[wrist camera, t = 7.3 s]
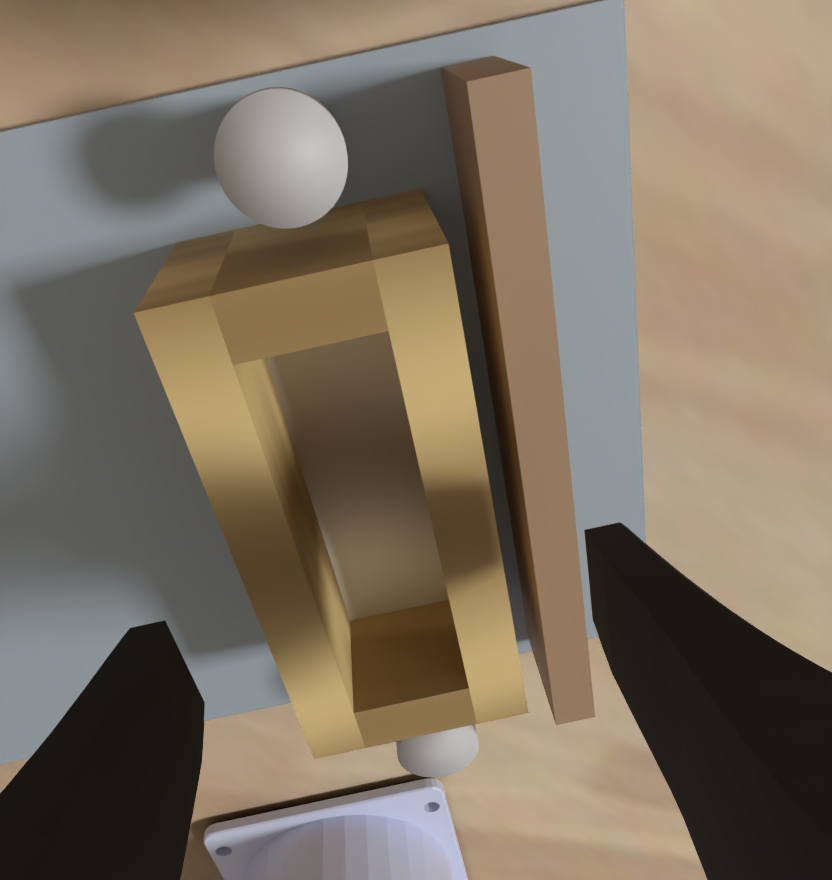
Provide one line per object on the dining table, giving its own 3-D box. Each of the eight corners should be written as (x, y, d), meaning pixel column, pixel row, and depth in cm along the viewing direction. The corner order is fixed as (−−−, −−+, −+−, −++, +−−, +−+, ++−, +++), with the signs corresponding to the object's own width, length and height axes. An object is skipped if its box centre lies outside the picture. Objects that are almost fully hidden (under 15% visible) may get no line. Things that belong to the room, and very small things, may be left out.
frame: (494, 594, 21) (528, 712, 17) (315, 633, 21) (314, 758, 17) (421, 188, 15) (448, 244, 12) (176, 242, 15) (132, 312, 12)
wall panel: (643, 614, 22) (698, 721, 19) (-216, 797, 23) (-312, 937, 19) (614, -5, 14) (703, -6, 11) (-726, 288, 14) (-1045, 376, 11)
